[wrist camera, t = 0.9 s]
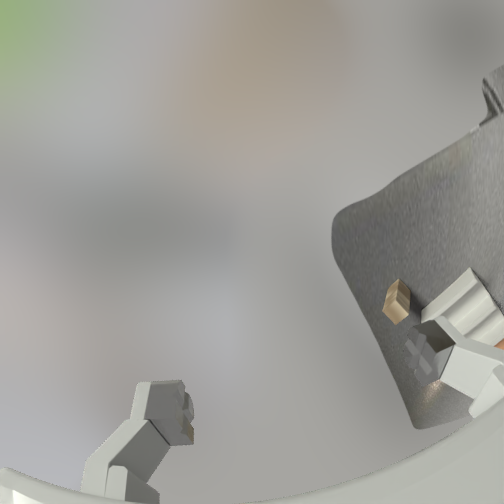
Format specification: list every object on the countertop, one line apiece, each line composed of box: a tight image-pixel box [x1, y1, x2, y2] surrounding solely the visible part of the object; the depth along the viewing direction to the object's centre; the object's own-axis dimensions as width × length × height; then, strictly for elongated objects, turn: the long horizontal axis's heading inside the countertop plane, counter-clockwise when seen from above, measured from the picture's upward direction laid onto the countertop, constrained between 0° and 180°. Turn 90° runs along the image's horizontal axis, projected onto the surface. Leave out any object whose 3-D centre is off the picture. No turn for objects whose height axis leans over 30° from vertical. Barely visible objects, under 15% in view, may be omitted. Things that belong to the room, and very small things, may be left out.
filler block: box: [383, 279, 411, 325], centre depth 45 cm, size 3×4×9 cm
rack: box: [421, 268, 504, 350], centre depth 39 cm, size 14×22×5 cm, turn 55°
